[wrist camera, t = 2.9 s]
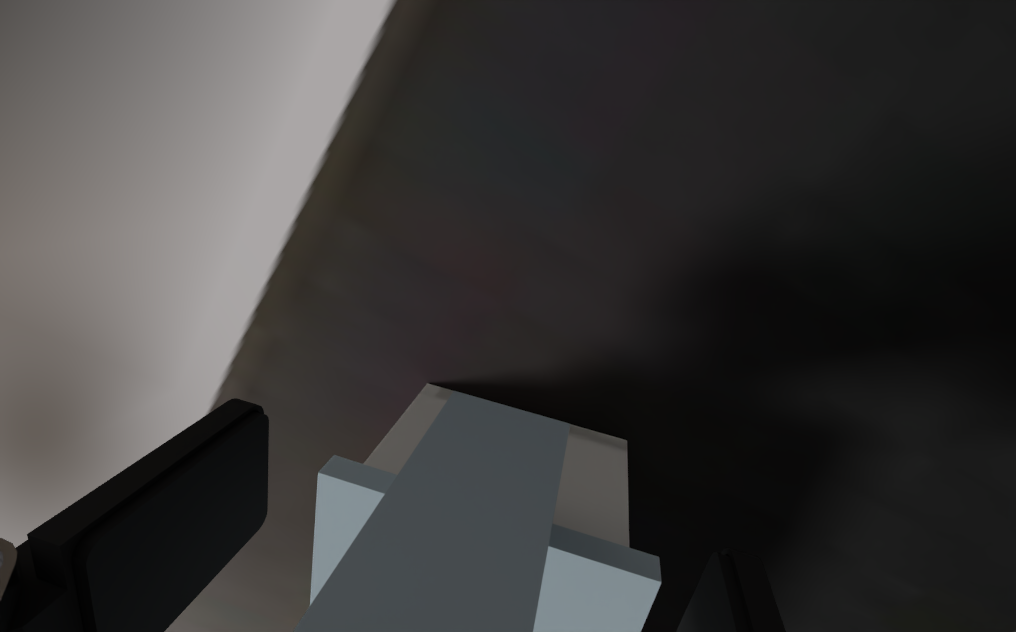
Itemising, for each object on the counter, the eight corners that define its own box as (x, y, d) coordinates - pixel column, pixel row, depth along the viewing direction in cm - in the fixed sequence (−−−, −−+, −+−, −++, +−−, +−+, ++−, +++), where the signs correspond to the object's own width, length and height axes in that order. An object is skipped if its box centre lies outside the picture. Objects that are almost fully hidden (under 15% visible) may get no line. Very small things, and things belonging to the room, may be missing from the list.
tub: (627, 440, 19) (629, 566, 13) (555, 652, 23) (535, 814, 17) (427, 383, 20) (352, 478, 14) (395, 596, 24) (328, 732, 19)
